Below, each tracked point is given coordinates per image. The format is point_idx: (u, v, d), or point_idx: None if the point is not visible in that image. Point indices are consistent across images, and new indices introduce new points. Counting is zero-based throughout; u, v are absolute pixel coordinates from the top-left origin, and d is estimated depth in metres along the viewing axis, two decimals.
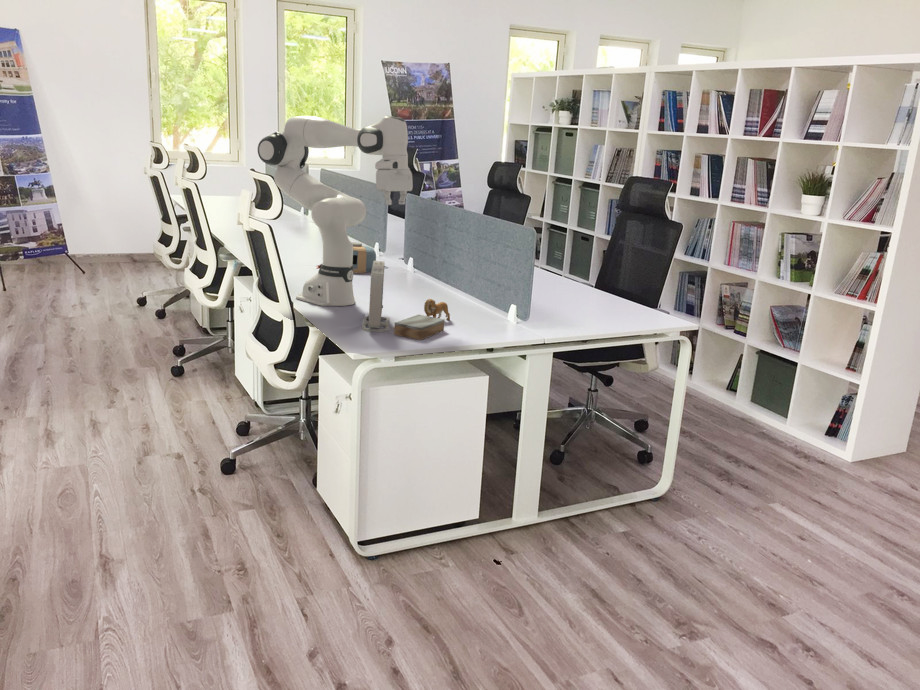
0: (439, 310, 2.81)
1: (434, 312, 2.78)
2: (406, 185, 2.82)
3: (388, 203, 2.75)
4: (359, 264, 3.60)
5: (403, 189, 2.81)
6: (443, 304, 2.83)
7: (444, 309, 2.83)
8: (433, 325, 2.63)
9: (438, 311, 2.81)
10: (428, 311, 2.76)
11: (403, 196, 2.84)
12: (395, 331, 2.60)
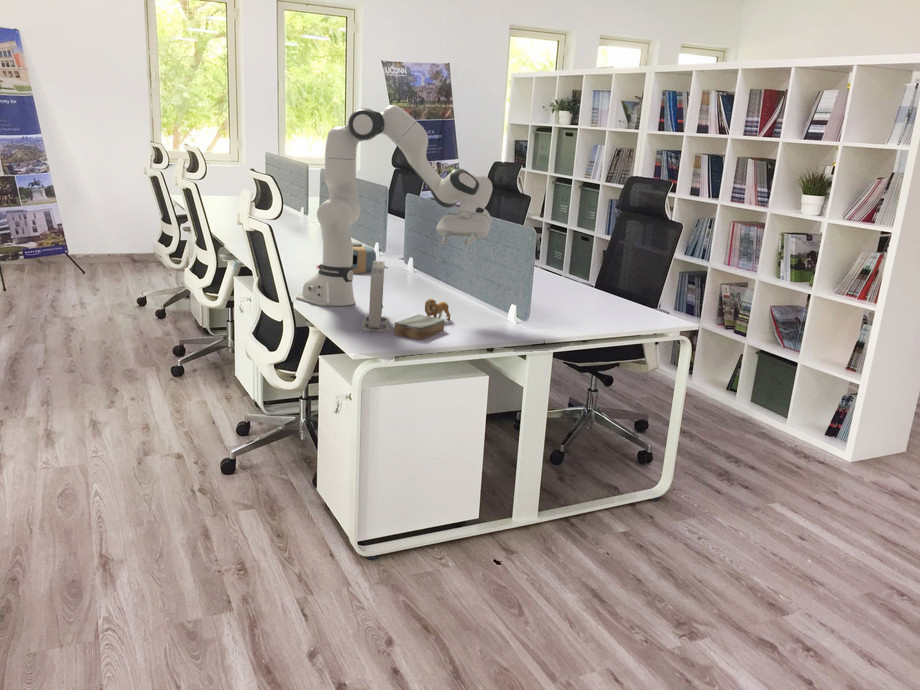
0: (440, 310, 2.81)
1: (435, 312, 2.78)
2: None
3: (469, 244, 2.83)
4: (359, 264, 3.60)
5: None
6: (444, 304, 2.83)
7: (445, 309, 2.83)
8: (433, 325, 2.63)
9: (439, 311, 2.81)
10: (429, 311, 2.76)
11: (446, 238, 2.89)
12: (395, 331, 2.60)
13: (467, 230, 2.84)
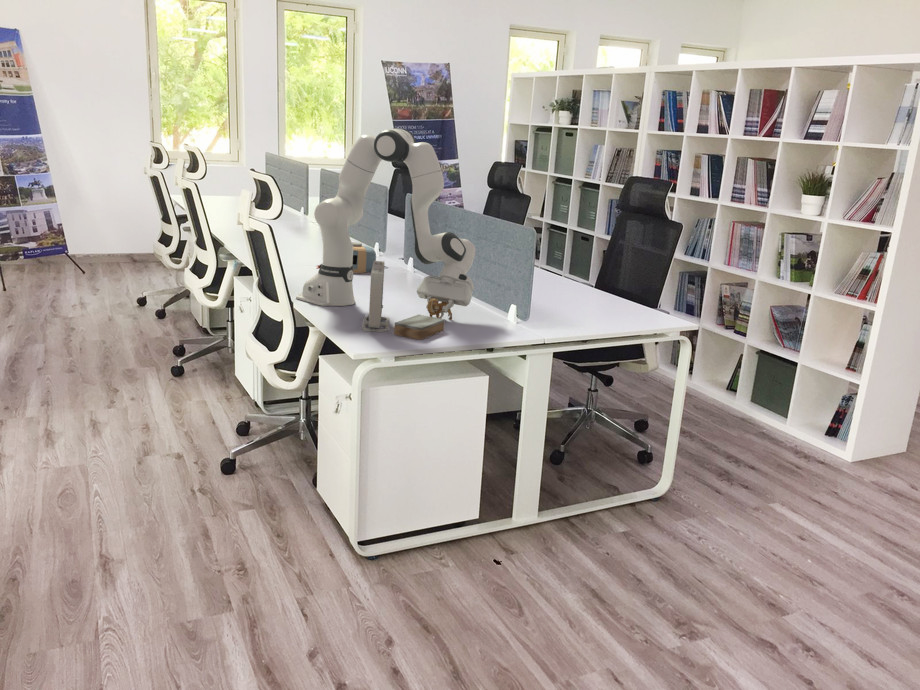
0: None
1: (437, 311, 2.79)
2: None
3: (446, 311, 2.80)
4: (359, 264, 3.60)
5: None
6: (446, 303, 2.84)
7: None
8: (433, 325, 2.63)
9: (441, 310, 2.82)
10: (432, 310, 2.77)
11: None
12: (395, 331, 2.60)
13: (449, 297, 2.80)
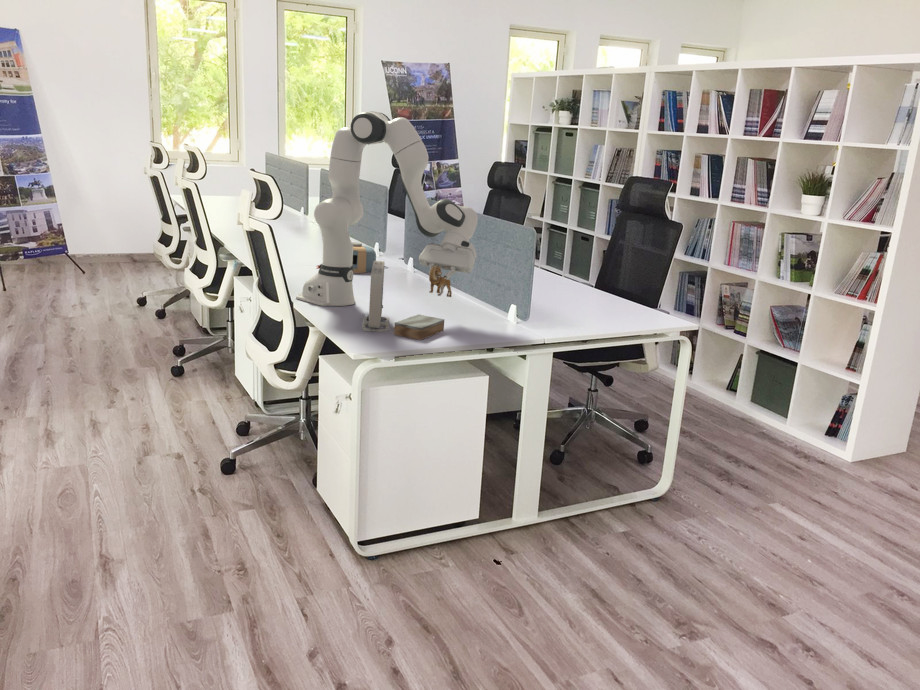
0: (443, 282, 2.79)
1: (439, 280, 2.75)
2: None
3: (448, 278, 2.76)
4: (359, 264, 3.60)
5: None
6: None
7: (447, 283, 2.81)
8: (433, 325, 2.63)
9: (442, 283, 2.78)
10: (434, 277, 2.73)
11: None
12: (395, 331, 2.60)
13: (451, 263, 2.77)
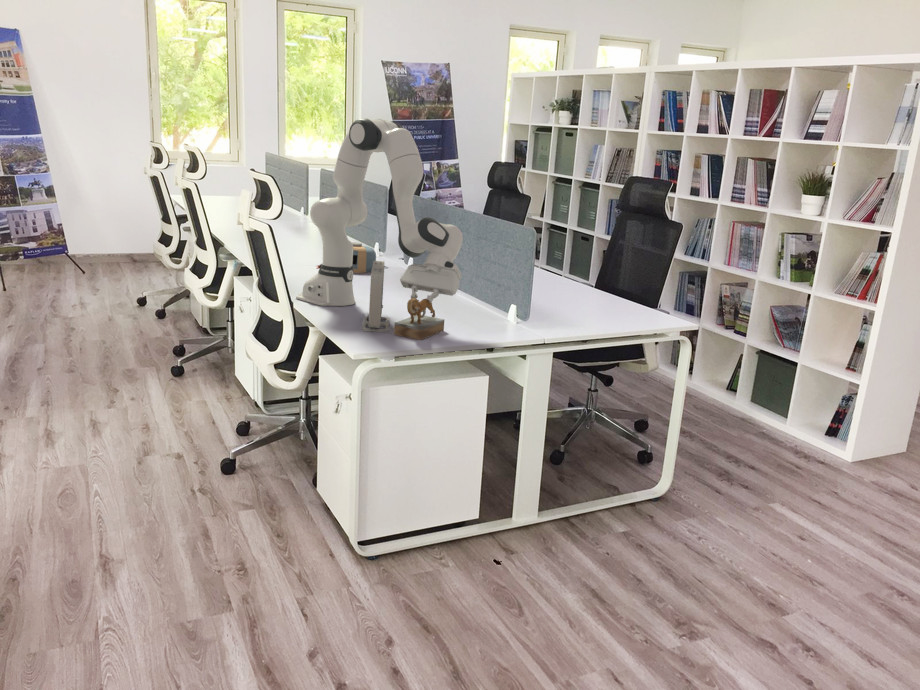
0: (423, 308, 2.62)
1: (418, 311, 2.59)
2: None
3: (431, 301, 2.61)
4: (359, 264, 3.61)
5: None
6: None
7: (428, 306, 2.64)
8: (433, 325, 2.63)
9: (422, 309, 2.61)
10: (412, 311, 2.56)
11: (415, 292, 2.65)
12: (395, 331, 2.60)
13: (434, 286, 2.62)
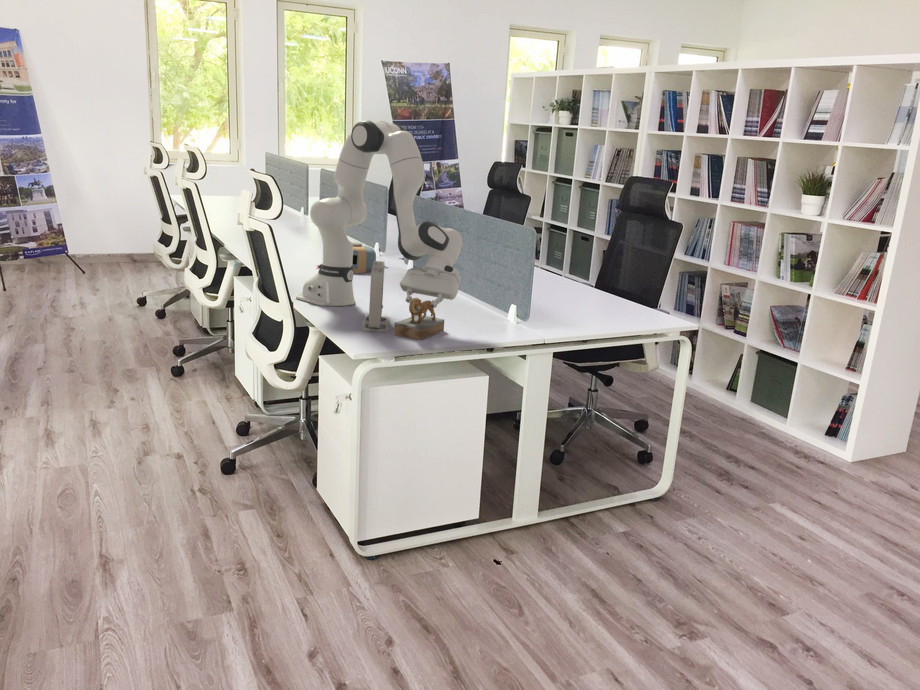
0: (425, 309, 2.62)
1: (420, 312, 2.59)
2: None
3: (435, 306, 2.61)
4: (359, 264, 3.61)
5: None
6: (429, 303, 2.63)
7: (430, 308, 2.64)
8: (433, 325, 2.63)
9: (424, 310, 2.62)
10: (414, 311, 2.57)
11: (410, 295, 2.66)
12: (395, 331, 2.60)
13: (434, 290, 2.62)
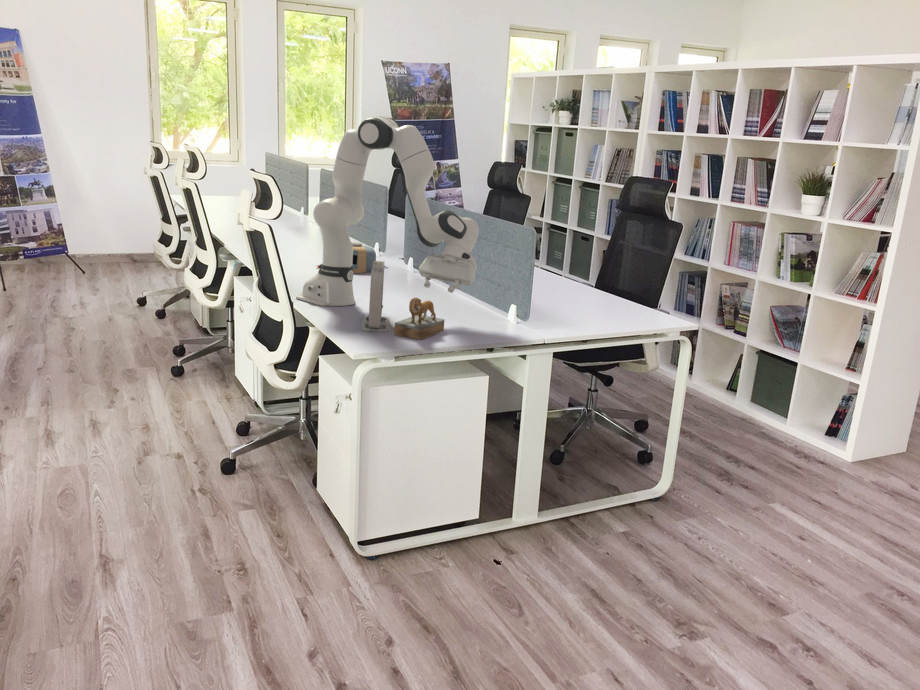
0: (425, 309, 2.62)
1: (420, 311, 2.59)
2: None
3: (452, 291, 2.74)
4: (359, 264, 3.60)
5: None
6: (429, 303, 2.64)
7: (430, 308, 2.64)
8: (433, 325, 2.63)
9: (424, 310, 2.62)
10: (414, 311, 2.57)
11: (428, 280, 2.79)
12: (395, 331, 2.60)
13: (451, 276, 2.75)
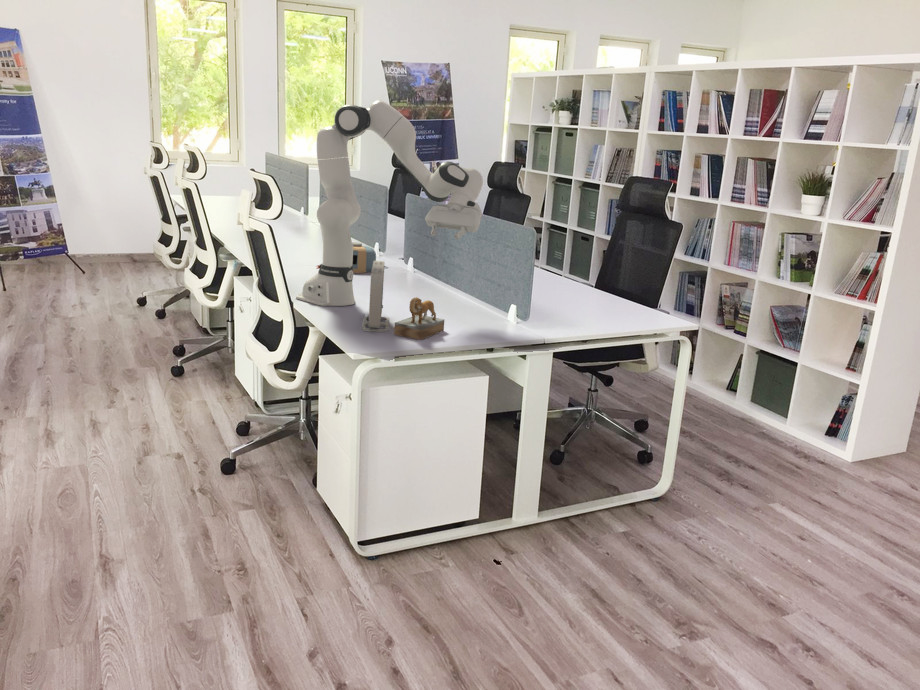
0: (425, 309, 2.62)
1: (420, 311, 2.59)
2: None
3: (459, 237, 2.81)
4: (359, 264, 3.60)
5: None
6: (429, 303, 2.64)
7: (430, 308, 2.64)
8: (433, 325, 2.63)
9: (424, 310, 2.62)
10: (414, 310, 2.57)
11: (434, 229, 2.86)
12: (395, 331, 2.60)
13: (457, 223, 2.82)
